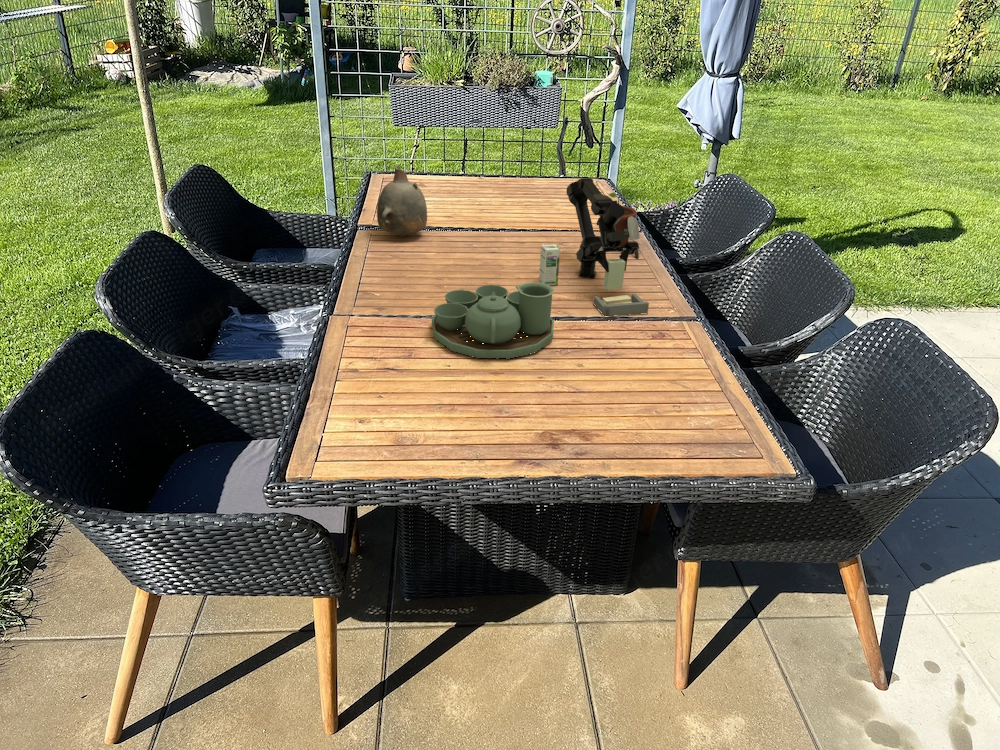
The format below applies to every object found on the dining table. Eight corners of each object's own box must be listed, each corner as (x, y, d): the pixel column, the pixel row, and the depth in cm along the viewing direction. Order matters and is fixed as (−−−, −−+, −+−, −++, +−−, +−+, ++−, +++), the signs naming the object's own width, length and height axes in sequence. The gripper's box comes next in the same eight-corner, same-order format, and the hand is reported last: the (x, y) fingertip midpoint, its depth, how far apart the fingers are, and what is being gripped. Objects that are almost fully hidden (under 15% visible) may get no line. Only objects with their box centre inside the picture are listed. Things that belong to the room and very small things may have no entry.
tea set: (522, 300, 250) (525, 257, 242) (574, 350, 219) (579, 302, 210) (415, 315, 237) (414, 269, 228) (454, 370, 205) (455, 320, 197)
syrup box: (543, 286, 261) (546, 249, 254) (538, 280, 266) (541, 244, 259) (557, 285, 263) (560, 248, 256) (552, 279, 268) (555, 243, 260)
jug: (424, 246, 294) (423, 175, 279) (373, 244, 294) (369, 172, 279) (430, 228, 315) (429, 160, 300) (383, 226, 315) (379, 158, 300)
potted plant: (633, 241, 309) (641, 185, 297) (638, 259, 290) (647, 199, 278) (593, 239, 310) (600, 183, 297) (596, 256, 291) (602, 197, 279)
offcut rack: (592, 303, 249) (593, 293, 247) (633, 300, 253) (635, 290, 251) (604, 317, 240) (606, 306, 238) (647, 313, 244) (648, 303, 242)
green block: (603, 286, 251) (606, 259, 246) (618, 285, 253) (622, 258, 247) (606, 289, 249) (609, 263, 244) (622, 288, 250) (625, 261, 245)
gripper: (591, 221, 240) (599, 263, 236) (640, 219, 244) (649, 260, 241) (580, 236, 250) (588, 276, 247) (628, 233, 255) (637, 273, 251)
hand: (616, 271), depth 246 cm, fingers closed on green block, 6 cm apart
